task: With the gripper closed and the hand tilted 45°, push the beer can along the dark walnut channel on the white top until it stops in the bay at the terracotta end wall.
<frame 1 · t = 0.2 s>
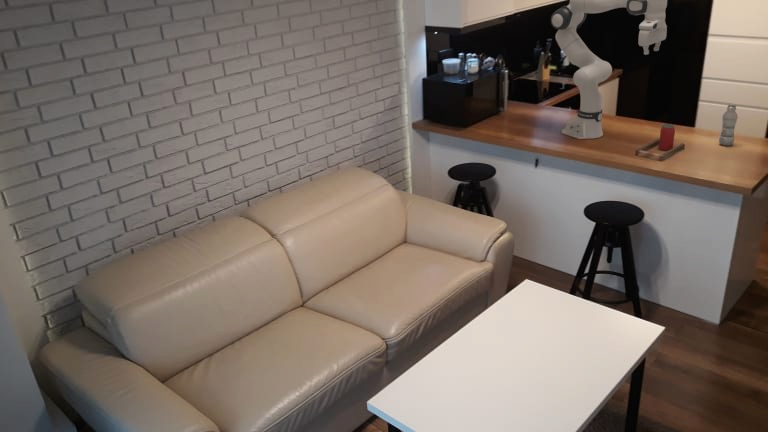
hand: (651, 52, 294), 48 cm above the table, tool pointing down, fingers open, 8 cm apart
beer can: (665, 149, 309), resting in walnut channel
plastic bottle: (725, 145, 306), on the table
walnut channel: (659, 152, 306), on the table
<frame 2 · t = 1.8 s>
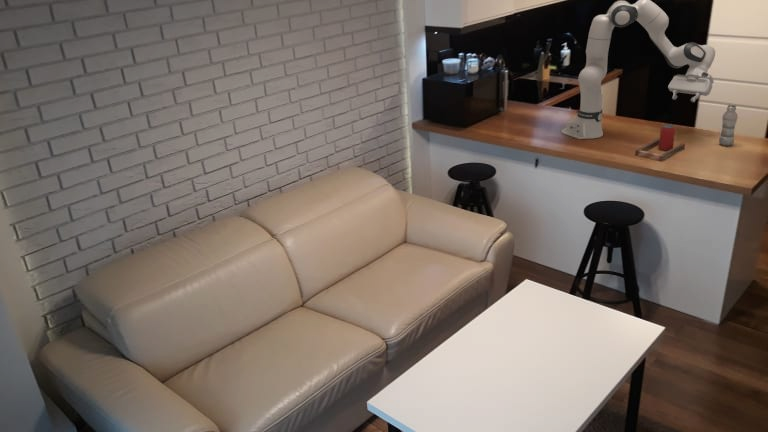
hand: (683, 100, 305), 22 cm above the table, tool tilted 45°, fingers open, 8 cm apart
nothing on the table moved.
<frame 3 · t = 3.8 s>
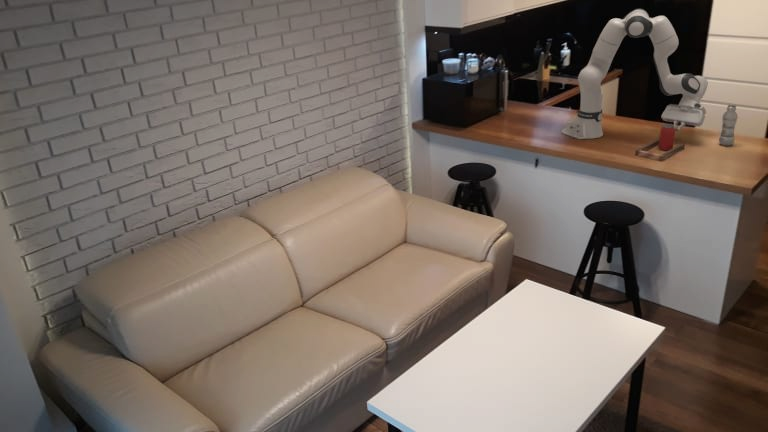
hand: (676, 130, 310), 8 cm above the table, tool tilted 45°, fingers closed
nothing on the table moved.
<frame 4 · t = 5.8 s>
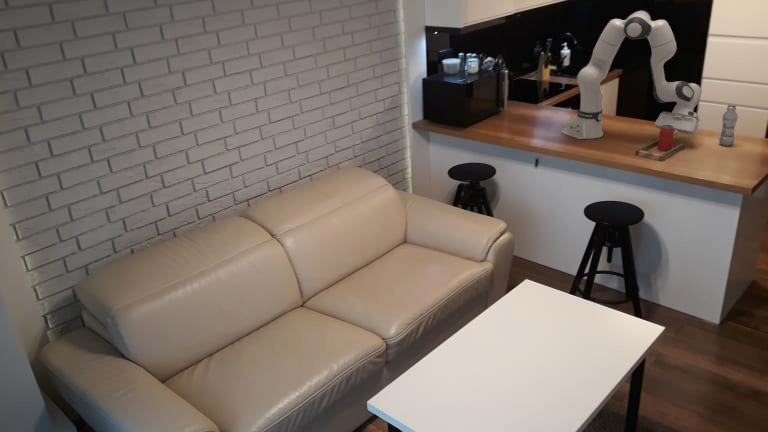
hand: (669, 138, 308), 5 cm above the table, tool tilted 45°, fingers closed, pressing on beer can
beer can: (664, 149, 308), resting in walnut channel, touching gripper
everything else where it was.
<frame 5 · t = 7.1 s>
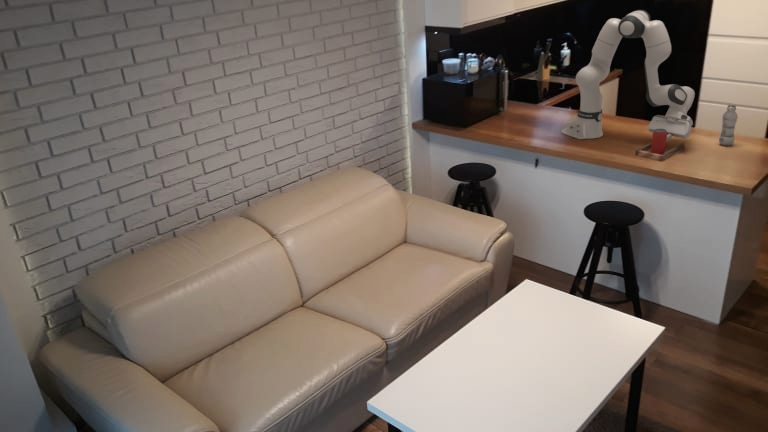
hand: (662, 141, 304), 5 cm above the table, tool tilted 45°, fingers closed, pressing on beer can
beer can: (657, 153, 304), resting in walnut channel, touching gripper
everything else where it was.
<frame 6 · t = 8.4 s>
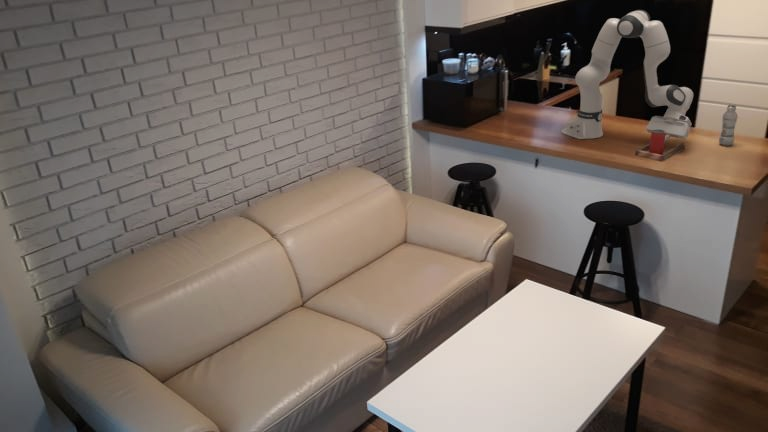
hand: (661, 142, 304), 5 cm above the table, tool tilted 45°, fingers closed
beer can: (655, 154, 304), resting in walnut channel
everything else where it was.
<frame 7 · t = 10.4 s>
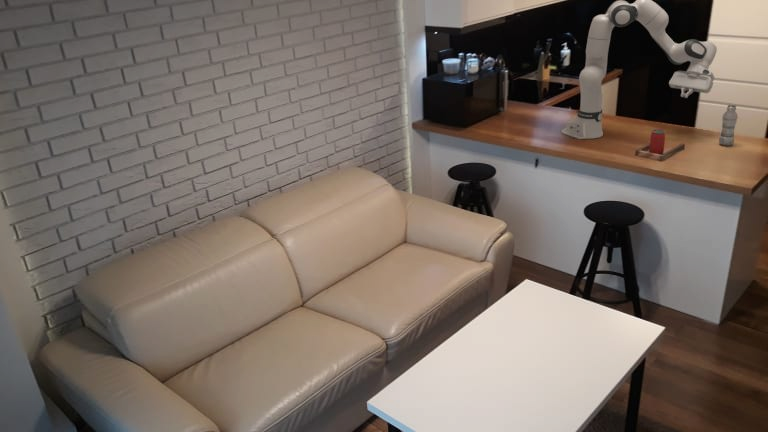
hand: (683, 96, 307), 23 cm above the table, tool tilted 45°, fingers closed
nothing on the table moved.
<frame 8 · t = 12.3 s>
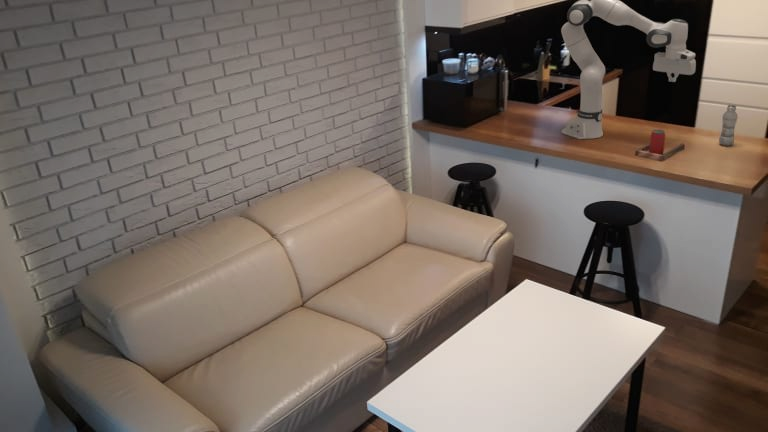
hand: (672, 81, 305), 31 cm above the table, tool pointing down, fingers closed
nothing on the table moved.
at the end: beer can inside the target area (1.1 cm from its centre), resting in walnut channel; beer can tilted 0° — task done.
